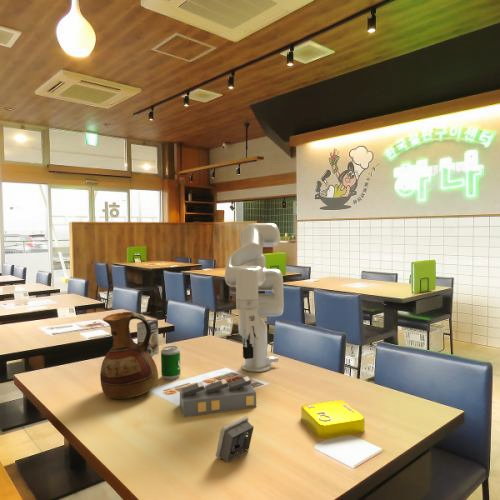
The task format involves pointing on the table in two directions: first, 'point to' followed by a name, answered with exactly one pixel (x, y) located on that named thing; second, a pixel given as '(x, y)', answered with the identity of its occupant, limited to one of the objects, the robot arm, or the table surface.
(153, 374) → the ceramic pitcher
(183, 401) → the switch housing
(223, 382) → the block
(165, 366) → the soda can
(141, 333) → the coffee box
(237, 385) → the rocker
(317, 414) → the element tile
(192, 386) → the rocker
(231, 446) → the electrical switch
